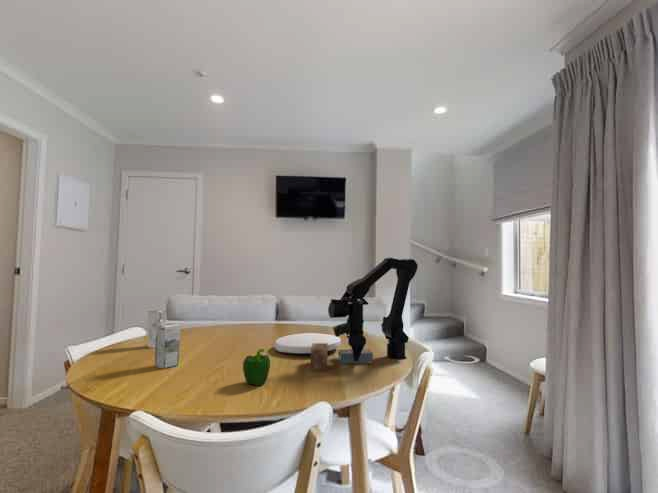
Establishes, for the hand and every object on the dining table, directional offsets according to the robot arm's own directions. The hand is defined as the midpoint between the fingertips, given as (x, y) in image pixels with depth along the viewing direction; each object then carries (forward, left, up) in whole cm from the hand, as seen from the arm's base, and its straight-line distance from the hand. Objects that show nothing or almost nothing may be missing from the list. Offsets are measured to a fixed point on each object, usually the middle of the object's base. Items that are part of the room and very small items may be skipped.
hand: (355, 358), depth 132 cm
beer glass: (+85, -19, -1) cm, 87 cm away
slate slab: (0, 0, -1) cm, 1 cm away
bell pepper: (+32, +25, -1) cm, 41 cm away
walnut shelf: (+13, +7, -1) cm, 15 cm away
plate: (+19, -17, -2) cm, 26 cm away
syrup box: (+67, +9, -1) cm, 68 cm away
